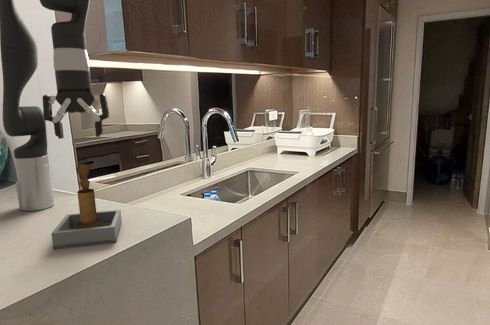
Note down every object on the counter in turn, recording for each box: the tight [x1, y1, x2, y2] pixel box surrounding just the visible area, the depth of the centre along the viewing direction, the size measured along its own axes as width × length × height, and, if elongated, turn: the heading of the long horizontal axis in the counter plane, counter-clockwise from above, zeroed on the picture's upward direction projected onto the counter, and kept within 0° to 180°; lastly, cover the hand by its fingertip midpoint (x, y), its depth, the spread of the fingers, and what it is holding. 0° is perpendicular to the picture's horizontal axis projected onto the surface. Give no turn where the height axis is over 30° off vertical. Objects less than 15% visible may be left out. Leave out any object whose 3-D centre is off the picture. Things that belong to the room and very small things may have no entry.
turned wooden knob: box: [76, 163, 103, 229], centre depth 88 cm, size 7×6×18 cm
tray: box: [51, 209, 123, 250], centre depth 89 cm, size 14×14×4 cm
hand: (79, 137), depth 85 cm, fingers open, 8 cm apart
